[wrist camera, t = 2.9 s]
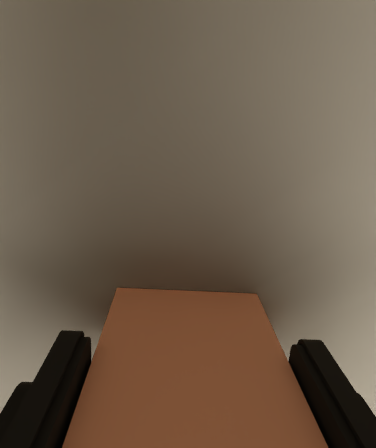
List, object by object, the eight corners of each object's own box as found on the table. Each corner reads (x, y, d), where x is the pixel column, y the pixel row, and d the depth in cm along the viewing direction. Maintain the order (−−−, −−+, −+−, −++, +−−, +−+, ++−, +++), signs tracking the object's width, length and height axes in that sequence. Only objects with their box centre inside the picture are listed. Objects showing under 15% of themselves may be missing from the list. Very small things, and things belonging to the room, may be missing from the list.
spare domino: (117, 287, 12) (-81, 861, 3) (256, 293, 13) (508, 834, 3) (116, 336, 13) (-49, 950, 3) (250, 341, 13) (447, 924, 4)
